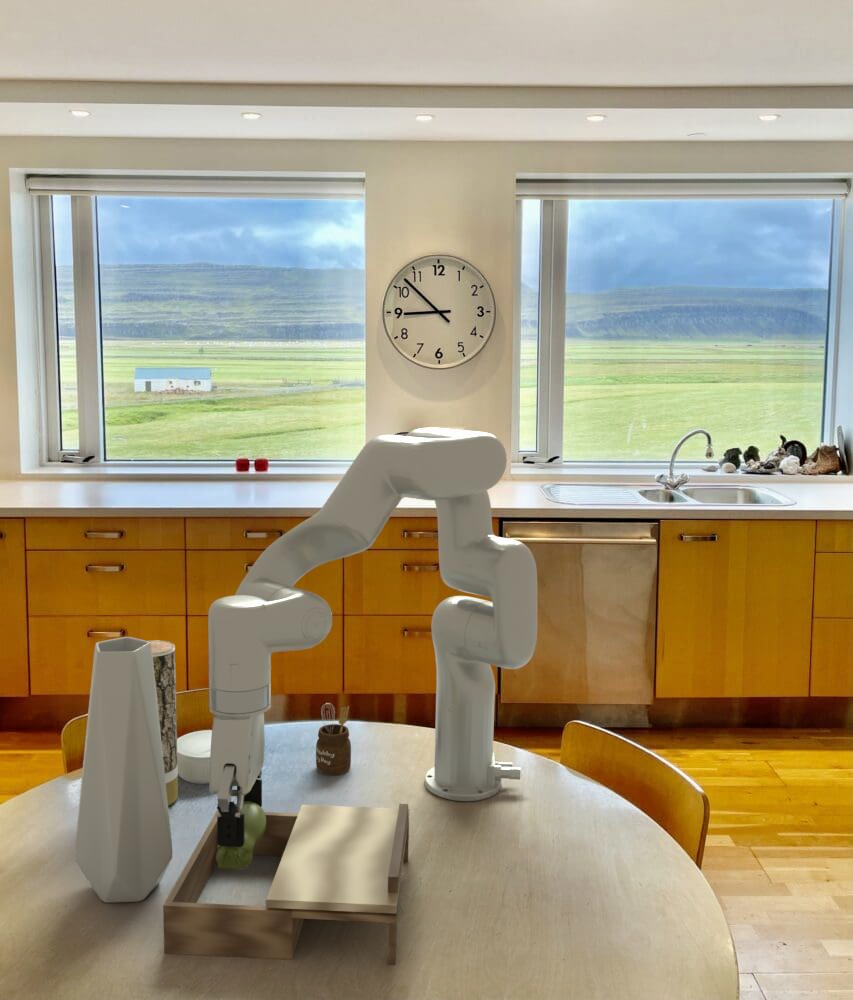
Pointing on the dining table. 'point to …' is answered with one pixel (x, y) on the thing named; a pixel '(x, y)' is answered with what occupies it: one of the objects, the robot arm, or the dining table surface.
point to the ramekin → (194, 756)
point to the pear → (253, 834)
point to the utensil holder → (333, 746)
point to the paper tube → (167, 711)
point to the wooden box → (245, 907)
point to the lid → (342, 860)
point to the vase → (123, 777)
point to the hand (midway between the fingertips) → (240, 825)
